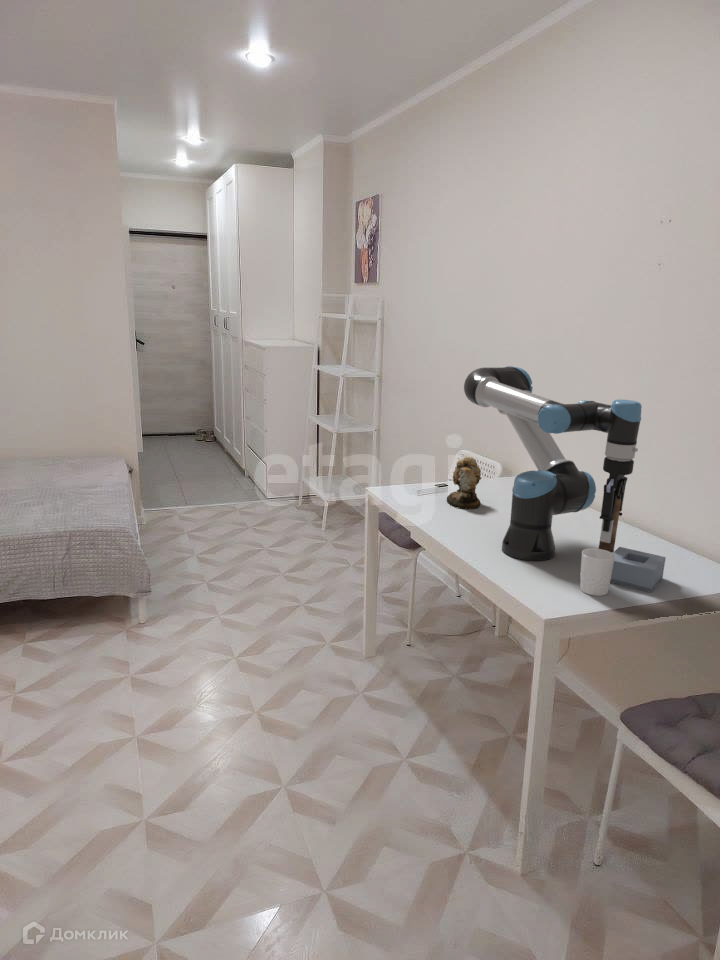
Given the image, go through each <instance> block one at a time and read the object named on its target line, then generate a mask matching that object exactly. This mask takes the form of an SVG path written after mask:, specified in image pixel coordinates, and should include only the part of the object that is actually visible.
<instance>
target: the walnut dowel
mask: <svg viewBox="0 0 720 960" xmlns="http://www.w3.org/2000/svg"><path fill="white" fill-rule="evenodd" d="M620 505H621V499H620V498H617V499H616V504H615V509H614V514H613V520H614V521H613V528H612V535H611V542H610V543H606V542H602V541H600V540H599V544H598V549H602V550H606V551H609V552H611V553H613V552H614V551H615V544H616V537H617V531H618V525H619V518H620V516H619V512H620ZM620 513H621V512H620Z"/></svg>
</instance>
